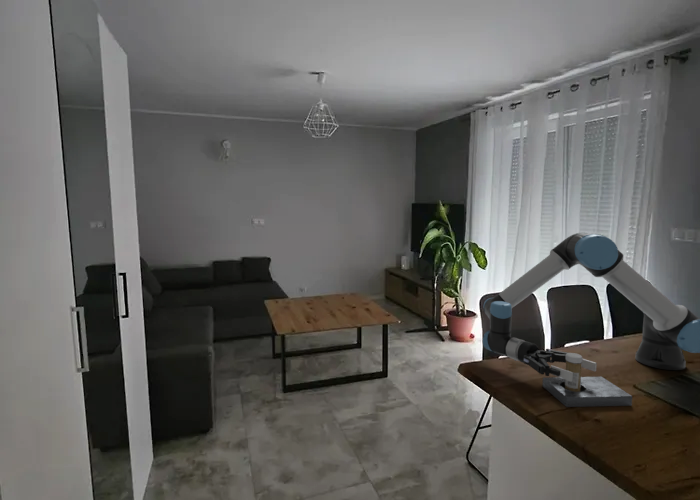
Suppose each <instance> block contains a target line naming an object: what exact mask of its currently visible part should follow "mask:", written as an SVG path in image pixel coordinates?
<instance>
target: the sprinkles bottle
mask: <svg viewBox="0 0 700 500" xmlns="http://www.w3.org/2000/svg"><path fill="white" fill-rule="evenodd" d="M582 359H583V355H581V354H579V353H576V352H575V353H574V352H567V354H566V363H565V370H567V371H570V372H573V378H572V381H568V380H565V389H567V390H570V391H574V392H580V387H581V377H582V367H581V364H582Z"/></svg>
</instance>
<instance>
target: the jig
mask: <svg viewBox="0 0 700 500" xmlns="http://www.w3.org/2000/svg"><path fill="white" fill-rule="evenodd" d="M542 387H543V388H544V389H545V390H546V391H548V392H549V393H550V394H551V395H552V396H553V397H554V398H555V399H557V400H558V401H559V402H560V403H561V404H562V405H563V406H565V407H566V408H571V407H572V408H574V407H576V408H578V407H579V408H580V407H581V408H582V407H583V408H585V407H586V408H587V407H632V406H633V395H631V394H629V393H628V392H626V391H625V390H623V389H622V388H620V387H618V386H617V385H615V384H614V383H612V382H611V381H609V380H607V379H606V378H605V377H603V376H581V387H580V392H574V391H570V390H567V389H565V379H563V378H560V377H557V376H553V377H542Z"/></svg>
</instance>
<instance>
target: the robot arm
mask: <svg viewBox="0 0 700 500" xmlns="http://www.w3.org/2000/svg"><path fill="white" fill-rule="evenodd" d="M577 265H580V266H582V267H583V268H584V269H586V270H587V271H588V272H589V273H590V274H591V275H593V276H594V277H595V278H603V279H604V280H606V281H607V283H609V285H611V286H612V287H614V289H616V290H617V291H618V292H619V293H620V294H622V295H623V296H624V297H625V298H626V299H627V300H628V301H630V302H631V303H632V304H633V305H635V306H636V308H638V309H639V310H640V311H641V312H642V313H643V319H642V321H643V323H642V335H641V336H642V337H641V338H642V339H641V342H640V345H639V346H638V348H637V351H636V352H635V357H634V358H635V360H636V361H637V362H638V363H641V364H642V365H645V366H647V367H652V368H656V369H659V370H660V369H661V370H666V371H667V370H668V371H681V370H685V369H686V362H687V361H686V359H685V356H684V353H683V351H684V352H688V353H692V354H697V353H698V354H700V317H698V316H697V315H695V314H694V313H693V312H692V311H691V310H689V309H688V307H686V306H685V305H682V304H675V303H674V302H673V301H671V300H670V299H669V298H668V297H667V296H665V295H664V294H663V293H662V292H661V291H660V290H658V288H656V287H655V286H654V285H653V284H652V283H651V282H649V281H648V280H647V279H646V278H645V277H643V276H642V275H641V274H640V273H638V272H637V271H636V270H635V269H634V268H633V267H631V265H630V264H628V263H627V262H625V261H624V254H623V253H622V252H621V251H620V250H619V249H618V246H617V244H616V243H615V242H614V241H613V240H612V239H611V238H609V237H607V236H605V235H603V234H602V235H601V234H598V233H587V232H577V233H574V234H571V235H570V236H568V237H567V238H565V239H564V240H562V241H561V242H560V243H559V244H557V245H556V246H555V247H553V248H552V249H551V250H550V251H549V255H548V256H546V257H545V258H543V259H542V260H541V261H540V262H538V263H537V264H536V265H535V266H533V267H532V268H531V269H529V270H528V271H527V272H526V273H524V274H522V275H521V276H520V277H519V278H518V279H516V280H515V281H514V282H513V283H511V284H510V285H509V286H507V287H506V288H505V289H503V290H502V291H500V292H499V293H498V294H496V295H495V296H494V297H490V298H487V299H486V300H485V301H484V303H483V311H484V313H485V315H486V316H487V318H488V319H489V330H487V331H485V333H484V334H483V337H482V339H481V340H482V346H483V348H484V349H486V350H487V351H490V352H493V353H495V354H498V355H502V356H504V357H507V358H510V359H513V361H518V362H521V363H523V364H525V365H527V366H528V367H530V368H531V369H533V370H534V371H535V372H537V373H539V375H544V376H545V377H550V375H552V376H553V377H560V378H563V379H565V380H568V381H572V378H573V372H570V371H567V370H566V368H565V369H564V368H562V367H558V366H555V365H550V364H549V363H551V364H553V363H555V362H556V363H557V362H558V363H565V364H566V354H567V353H568V352H566V351H561V350H555V349H549V348H545V350H543V349H541V350H540V349H539V347H538V345H537V344H535V343H534V342H530V341H527V340H526V341H525V340H524V339H520V338H517V337H513V336H511V335H512V317H513V312H512V311H513V310H512V309H513V308H514V307H515V306H517V305H518V304H520V303H521V302H523V301H524V300H525V299H526V298H528V297H529V296H530V295H532V294H533V293H535V292H536V291H538V289H540V288H541V287H543V286H544V285H546V283H548V282H549V281H551V280H552V279H554V278H555V277H557V275H559V274H560V273H561V272H562V271H565V270H569V269H571V268H573V267H574V266H577ZM597 364H598V363H597V362H595V361H592V360H588V359H586V358H582V364H581V369H582V368H583V369H585V370H589V371H593V372H596V371H597V366H598V365H597Z"/></svg>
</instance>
